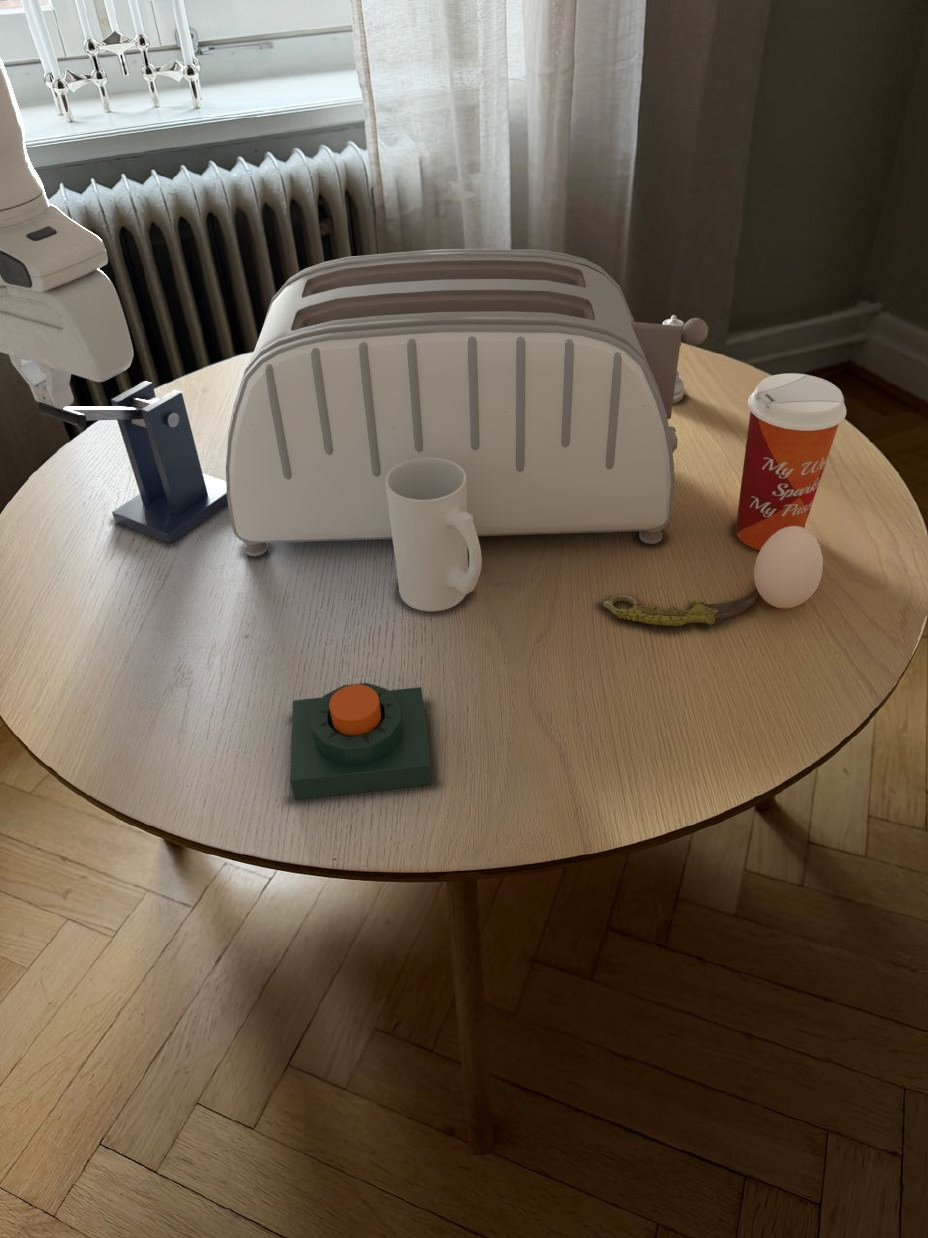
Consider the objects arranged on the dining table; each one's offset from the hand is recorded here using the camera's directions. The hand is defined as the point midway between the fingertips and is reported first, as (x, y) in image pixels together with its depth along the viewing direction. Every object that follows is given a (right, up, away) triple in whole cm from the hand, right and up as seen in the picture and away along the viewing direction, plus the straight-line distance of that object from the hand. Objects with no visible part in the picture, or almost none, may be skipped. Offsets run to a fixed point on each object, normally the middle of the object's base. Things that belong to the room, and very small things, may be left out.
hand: (55, 402), depth 79 cm
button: (+27, -26, -12) cm, 39 cm away
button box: (+27, -29, -9) cm, 41 cm away
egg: (+63, -17, +2) cm, 65 cm away
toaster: (+35, -6, +16) cm, 40 cm away
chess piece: (+59, +8, +32) cm, 68 cm away
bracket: (+5, -7, +17) cm, 19 cm away
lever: (+3, -1, +6) cm, 7 cm away
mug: (+33, -17, +4) cm, 38 cm away
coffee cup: (+65, -11, +10) cm, 66 cm away
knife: (+55, -18, +2) cm, 58 cm away
